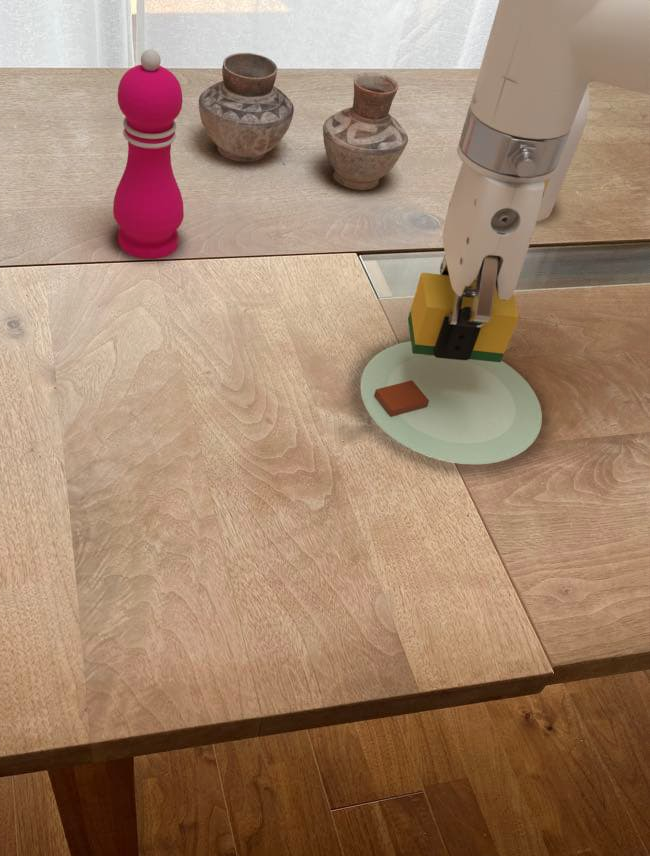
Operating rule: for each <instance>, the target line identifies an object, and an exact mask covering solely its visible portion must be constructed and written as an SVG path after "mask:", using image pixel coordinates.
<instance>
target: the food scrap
mask: <svg viewBox="0 0 650 856" xmlns="http://www.w3.org/2000/svg"><path fill="white" fill-rule="evenodd" d="M374 396H375V398H376V399H377V400H378V401H379V403H380V404H381V405H382V406H383V408H384V409H385V410H386V412H387V413H388V414H389V415H390V416H395V415H399V414H402V413H406V412H410V411H414V410H417V409H421V408H425V407H427V406H428V403H429V400H428V399H427V397H426V396H425V395H424V394H423V393H422V391H421V390H420V389H419V388H418V387H417V385H416V384H415V383H414V382H413V381H412V380H411V381H407V382H403V383H399V384H395V385H391V386H387V387H383V388H380V389H376V390H375V394H374Z"/></svg>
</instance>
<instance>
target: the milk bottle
mask: <svg viewBox="0 0 650 856" xmlns="http://www.w3.org/2000/svg"><path fill="white" fill-rule="evenodd" d="M589 84H590V82H589V83H588V86H587V88H586V91H585V94H584V96H583V99H582V101H581V104H580V107H579V109H578V112H577V114H576V117H575V120H574V122H573V125H572V127H571V131H570V133H569V136H568V139H567V141H566V144H565V146H564V149H563V152H562V154H561V157H560V160H559V162H558V165H557V167H556V170H555V173H554V174H553V175H552V177H550V178H549V179H547V180H545V186H544V192H543V197H542V201H541V206H540V210H539V214H538V218H537V221H536V222H540V221H543V220H545V219H548V217H550V215H551V214H552V212H553V209H554V207H555V205H556V201H557V199H558V198H559V195H560V192H561V189H562V187H563V184H564V182H565V179H566V177H567V174H568V172H569V169H570V167H571V164H572V161H573V159H574V157H575V154H576V151H577V149H578V146H579V143H580V140H581V138H582V135H583V133H584V130H585V126H586V124H587V119H588V115H589V110H590V89H589V87H590V86H589Z"/></svg>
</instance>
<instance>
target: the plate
mask: <svg viewBox="0 0 650 856" xmlns="http://www.w3.org/2000/svg"><path fill="white" fill-rule="evenodd" d="M411 380H412V381H413V382H414V383H415V384H416V385H417V387H418V388H419V389H420V390H421V391H422V393H423V394H424V395H425V396H426V397H427V399H428V400H429V403H428V406H427V407H425V408H421V409H417V410H414V411H410V412H406V413H402V414H399V415H395V416H390V415H389V414H388V413H387V412H386V410H385V409H384V408H383V406H382V405H381V404H380V403H379V401H378V400H377V399H376V398H375V396H374V394H375V390H376V389H380V388H383V387H387V386H391V385H395V384H399V383H403V382H407V381H411ZM360 394H361V399H362V402H363V405H364V407H365V409H366V411H367V412H368V415H369V416H370V417H371V419H372V420H373V421H374V423H375V424H377V426H378V427H379V428H380V429H381V430H382V431H383V432H384V433H386V434H387V435H388V436H390V437H391V438H392V439H394V441H396V442H398V443H400V445H402V446H404V447H405V448H408V449H409V450H412V451H414V452H416V453H419V454H421V455H423V456H426V457H429V458H431V459H435V460H438V461H443V462H447V463H452V464H461V465H489V464H494V463H500V462H503V461H506V460H509V459H513V458H514V457H516V456H518V455H520V454H521V453H523V452H524V451H526V450H527V449H528V448H529V447H531V446H532V444H533V443H534V442H535V440H537V438H538V436H539V434H540V431H541V428H542V424H543V412H542V407H541V403H540V401H539V399H538V397H537V394H536V392H535V391H534V389H533V387H531V385H530V384H529V382H528V381H527V380H526V379H525V378H524V377H523V376H522V374H520V373H519V372H518V371H517V370H515V369H514V368H513V367H512V366H510V365H509V364H508V363H506V362H504V361H503V360H501V362H491V361H481V360H472V359H468V360H455V359H445V358H436V357H435V356H433V355H424V354H414V353H412V346H411V340H408V341H404V342H399V343H397V344H393V345H391V346H389V347H386V348H385V349H383V350H381V351H380V352H378V353H377V354H375V355H374V356H373V357H372V358H371V359H370V360H369V362H368V363H367V364H366V366H365V367H364V370H363V372H362V374H361V378H360Z"/></svg>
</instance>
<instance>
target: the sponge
mask: <svg viewBox="0 0 650 856" xmlns="http://www.w3.org/2000/svg"><path fill="white" fill-rule="evenodd" d="M470 286H473V287H476V282H473V283H472V284H471V285H470ZM415 290H416V291H415V293H414V296H413V300H412V303H411V306H410V311H409V314H408V317H407V323H408V330H409V338H410V341H411V346H412V353H414V354H424V355H433V356H434V348H435V345H436V342H437V339H438V336H439V333H440V329H441V326H442V323H443V320H444V317H449V314H450V310H451V306H452V302H453V297H454V293H455V292H454V290H453V289H452V286H451V282H450V277H449V275H440V273H439V274H438V273H431V272H421V273H420V276H419V279H418V283H417V285H416V289H415ZM473 302H474V298H471V297H463V302H462V306H461V309H462V308H464V307H471V306H472V305H473ZM519 319H520V314H519V310H518V305H517V302H516V298H515V295H514V294H513V295H512V297H511V298H510V299H509V300H507V301H503V300H501V299H499V298H498V294H497V290H496V286H495V292H494V298H493V305H492V312H491V318H490V321H489V322H488V323H484V324H483V327H482V328H481V329H480V332H479V335H478V338H477V340H476V343H475V346H474V349H473V351H472V354H471V357H470V359H472V360H481V361H491V362H501V361H503V357H504V355H505V352H506V350H507V348H508V345H509V343H510V341H511V339H512V336H513V333H514V331H515V329H516V326H517V324H518V321H519Z"/></svg>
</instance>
